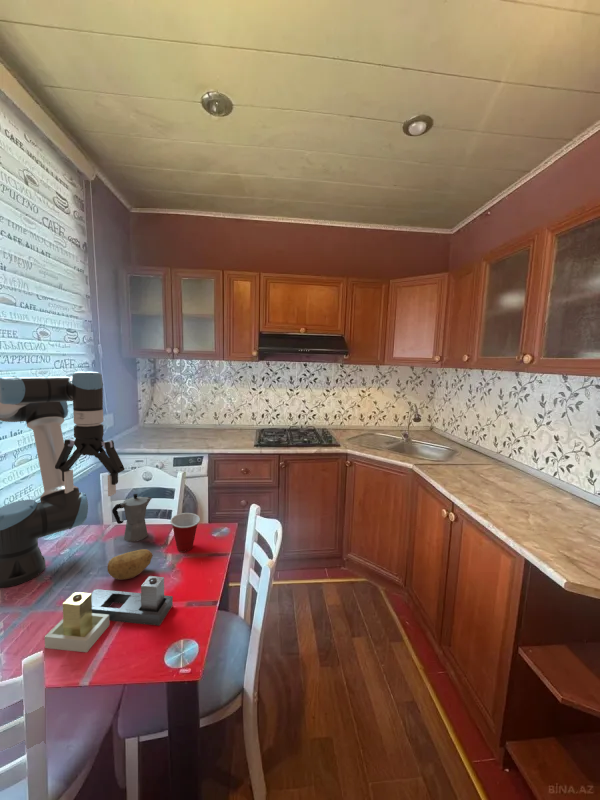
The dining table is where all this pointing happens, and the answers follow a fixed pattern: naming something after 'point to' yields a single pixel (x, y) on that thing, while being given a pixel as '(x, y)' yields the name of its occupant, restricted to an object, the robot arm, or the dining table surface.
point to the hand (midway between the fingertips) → (90, 493)
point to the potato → (129, 564)
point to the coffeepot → (133, 517)
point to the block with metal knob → (77, 614)
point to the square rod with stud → (152, 594)
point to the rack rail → (128, 607)
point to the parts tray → (74, 643)
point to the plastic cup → (185, 530)
